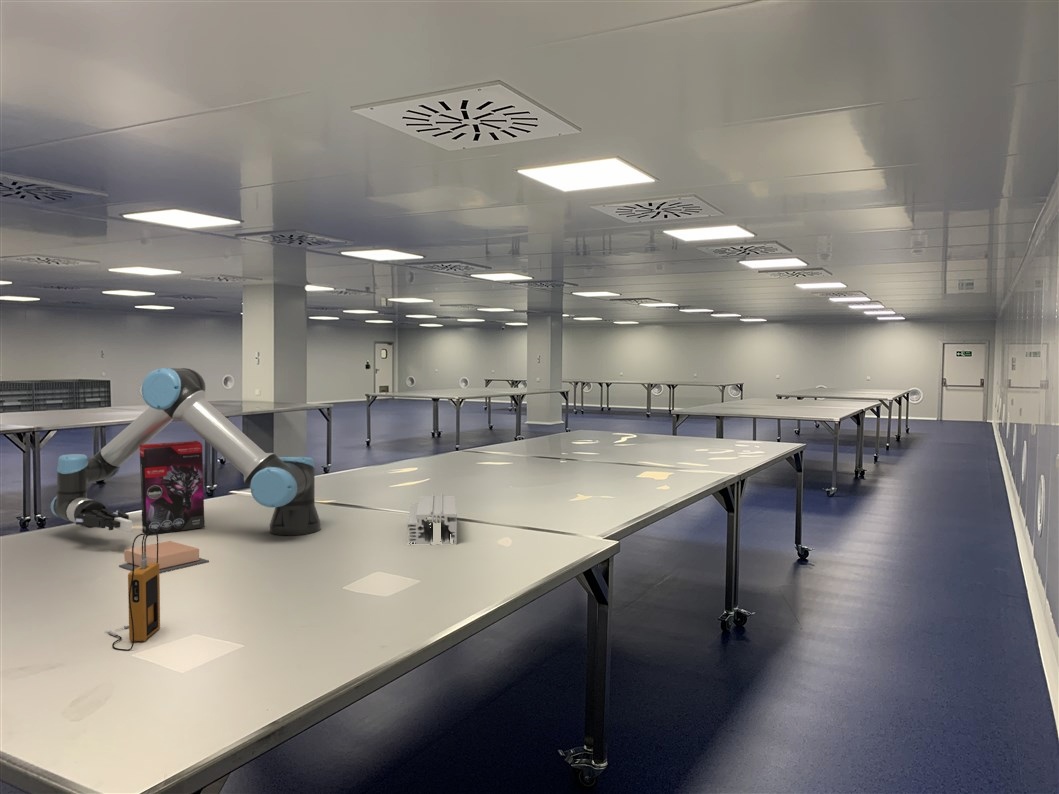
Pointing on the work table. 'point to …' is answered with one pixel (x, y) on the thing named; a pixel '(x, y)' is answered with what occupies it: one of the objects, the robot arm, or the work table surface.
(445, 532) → the aluminum extrusion profile
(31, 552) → the work table surface
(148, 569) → the multimeter
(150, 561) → the tile
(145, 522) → the graphics card box
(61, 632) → the work table surface
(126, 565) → the mat
